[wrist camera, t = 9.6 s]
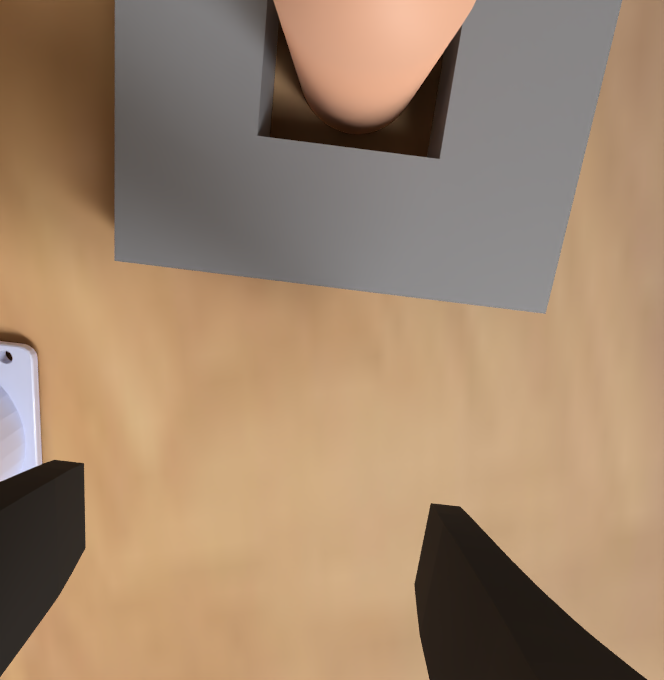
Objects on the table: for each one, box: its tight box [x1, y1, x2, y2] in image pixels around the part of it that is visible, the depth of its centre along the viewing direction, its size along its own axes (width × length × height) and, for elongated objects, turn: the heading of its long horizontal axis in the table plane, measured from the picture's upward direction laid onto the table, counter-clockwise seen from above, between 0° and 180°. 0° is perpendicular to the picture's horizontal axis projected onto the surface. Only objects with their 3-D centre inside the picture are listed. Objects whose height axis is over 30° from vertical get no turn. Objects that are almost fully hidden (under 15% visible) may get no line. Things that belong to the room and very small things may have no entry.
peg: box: [273, 0, 476, 134], centre depth 12 cm, size 4×4×8 cm
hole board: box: [115, 0, 622, 314], centre depth 15 cm, size 14×14×3 cm
